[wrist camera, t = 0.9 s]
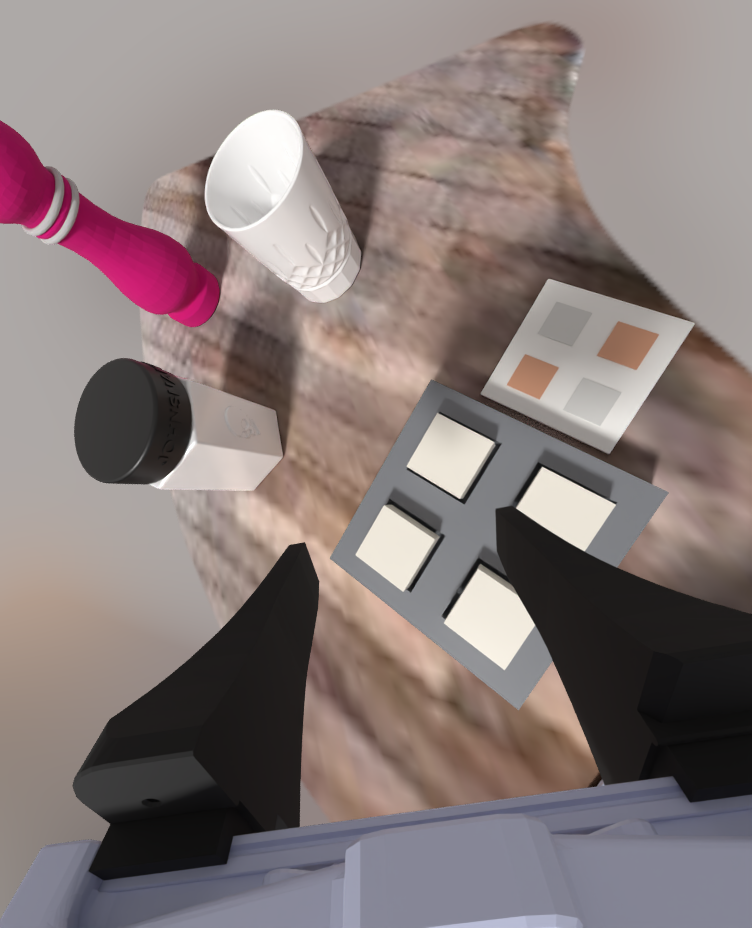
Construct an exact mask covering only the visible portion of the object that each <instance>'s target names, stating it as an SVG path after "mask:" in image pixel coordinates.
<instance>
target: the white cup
mask: <svg viewBox="0 0 752 928" xmlns="http://www.w3.org/2000/svg"><path fill="white" fill-rule="evenodd" d="M205 204H206V208H207V212H208V214H209V216H210V218H211V219H212V221H213V222H214V223H215V224H216V225H217V226H218V227H219V228H220V229H222V230H223V231H224V232H225V233H226V234H228V235H229V236H230V237H231V238H232V239H233V240H235V241H236V242H237V243H238V244H240V245H241V246H242V247H243V248H244V249H246V250H247V251H248V252H249V253H250V254H251V255H253V256H254V257H255V258H256V259H257V260H258V261H259V262H260V263H262V264H263V265H264V266H266V267H267V268H268V269H270V270H271V271H272V272H273V273H274V274H275V275H277V276H278V277H279V278H281V279H282V280H283V281H284V282H285V283H287V284H289V285H291V286H292V287H293V288H295V289H296V290H297V291H298V292H300V293H301V294H302V295H303V296H304V297H306V298H307V299H308V300H309V301H311V302H319V303H326V302H328V301H331V300H334V299H336V298H339V297H340V296H341V295H342V294H343V293H344V292H345V291H346V290H348V289H349V288H350V287H351V286H352V284H353V282H354V280H355V278H356V276H357V274H358V272H359V270H360V261H361V251H360V248H359V246H358V243H357V241H356V238H355V236H354V234H353V233H352V231H351V229H350V227H349V225H348V221H347V218H346V216H345V214H344V212H343V211H342V209H341V206H340V204H339V202H338V200H337V198H336V196H335V195H334V193H333V190H332V188H331V186H330V184H329V182H328V180H327V178H326V176H325V174H324V173H323V171H322V169H321V167H320V165H319V163H318V161H317V159H316V157H315V155H314V154H313V152H312V150H311V148H310V146H309V144H308V142H307V140H306V138H305V136H304V134H303V132H302V131H301V129H300V127H299V125H298V123H297V122H296V120H295V119H294V118H293V117H292V116H291V115H289V114H288V113H286V112H283V111H280V110H266V111H262V112H259V113H256V114H254V115H252V116H250V117H249V118H247V119H246V120H244V121H243V122H241V123H240V124H239V125H238V126H237V127H236V128H235V129H234V130H233V131H232V132H231V133H230V134H229V135H228V136H227V137H226V139H225V140H224V141H223V143H222V144H221V146H220V147H219V149H218V151H217V152H216V154H215V156H214V158H213V160H212V163H211V165H210V168H209V171H208V175H207V179H206V184H205Z"/></svg>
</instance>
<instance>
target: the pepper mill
mask: <svg viewBox="0 0 752 928" xmlns="http://www.w3.org/2000/svg"><path fill="white" fill-rule="evenodd" d="M0 223H3V224H13V223H15V224H21V226H22V228H23V229H24V231H25V232H26V233H28V234H29V235H31V236H36V237H38V238H40V240H41V241H42V242H44V243H45V244H49V245H53V244H56V243H57V244H60V245H62V246H64V247H66V248H68V249H70V250H72V251H74V252H76V253H78V254H79V255H80V256H82V257H84V258H85V259H87V260H89V261H90V262H91V263H92V264H94V265H95V266H96V267H97V268H99V269H100V270H101V271H102V272H103V273H104V274H105V275H106V276H107V277H108V278H109V279H110V280H111V281H112V282H113V284H114V285H115V286H116V287H117V288H118V289H119V290H120V291H121V292H122V293H123V294H124V295H125V296H126V297H128V298H129V299H130V300H131V301H132V302H134V303H135V304H136V305H138V306H139V307H141V308H143V309H144V310H146V311H148V312H150V313H154V314H161V315H163V314H168V315H169V316H170V317H171V318H172V319H174V320H176V321H178V322H180V323H182V324H184V325H186V326H189V327H196V326H199V325H201V324H203V323H205V322H206V321H207V320H208V319H209V318H210V317H211V316H212V314H213V313H214V311H215V309H216V306H217V304H218V300H219V285H218V281H217V279H216V278H215V276H214V275H213V274H212V273H210V272H209V271H208V270H206V269H205V268H204V267H202V266H201V265H200V264H198V263H194V262H193V261H192V259H191V256H190V254H189V253H188V251H187V250H186V249H185V248H184V247H183V246H182V245H181V244H180V243H179V242H177V241H175V240H174V239H172V238H171V237H169V236H168V235H165V234H163V233H161V232H158V231H156V230H153V229H150V228H146V227H142V226H138V225H134V224H131V223H128V222H125V221H123V220H120V219H118V218H116V217H114V216H112V215H110V214H109V213H107V212H106V211H104V210H102V209H101V208H99V207H98V206H96V205H94V204H93V203H92V202H91V201H89V200H88V199H87V198H85V197H84V196H83V195H82V194H80V193H79V192H78V189H77V186H76V184H75V183H74V182H73V181H72V180H71V179H69V178H65V177H64V176H62V175H61V174H60V172H59V171H58V170H57V169H55V168H53V167H48V166H46V167H44V166H43V165H42V163H41V162H40V160H39V158H38V156H37V155H36V153H35V151H34V150H33V148H32V147H31V146H30V144H29V143H28V142H27V141H26V140H25V139H24V138H23V137H22V136H21V135H20V134H19V133H18V132H16V131H15V130H14V129H12V128H11V127H10V126H8V125H7V124H5V123H3V122H2V121H0Z"/></svg>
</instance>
